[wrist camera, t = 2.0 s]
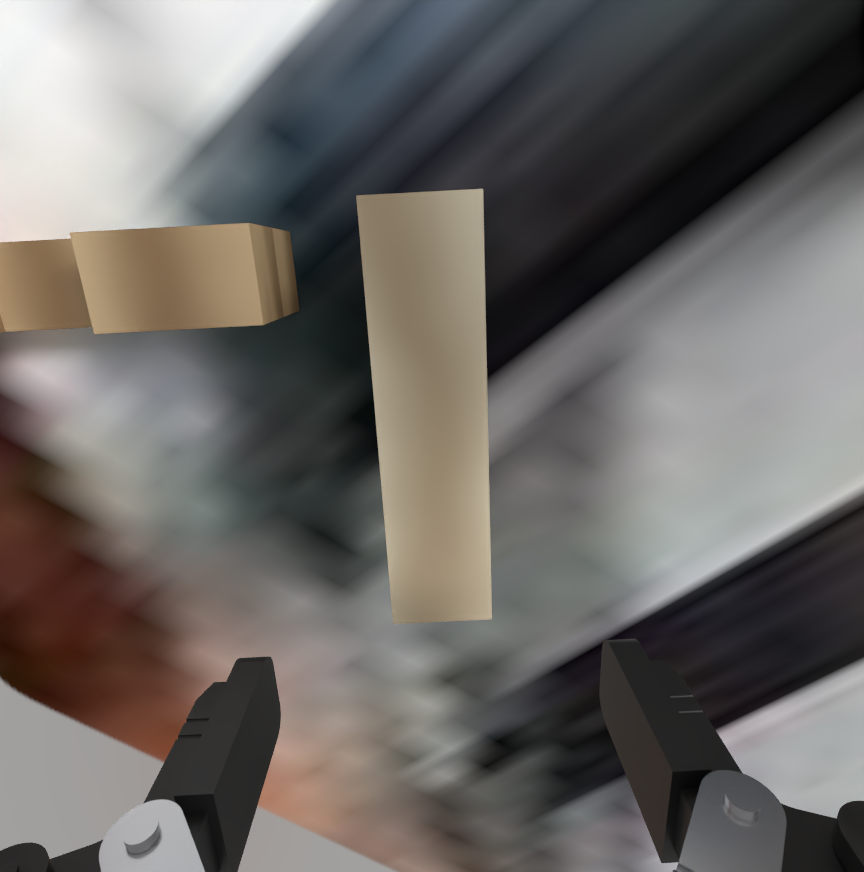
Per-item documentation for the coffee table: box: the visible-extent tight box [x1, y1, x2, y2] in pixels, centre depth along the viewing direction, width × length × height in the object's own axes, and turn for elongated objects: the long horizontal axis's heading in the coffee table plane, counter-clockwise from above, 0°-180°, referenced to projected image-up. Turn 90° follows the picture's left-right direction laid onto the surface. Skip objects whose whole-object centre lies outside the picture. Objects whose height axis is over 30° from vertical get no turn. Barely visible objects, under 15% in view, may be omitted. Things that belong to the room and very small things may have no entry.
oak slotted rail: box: [0, 223, 300, 334], centre depth 22 cm, size 18×4×6 cm, turn 93°
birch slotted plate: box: [356, 189, 492, 624], centre depth 22 cm, size 4×14×10 cm, turn 3°
